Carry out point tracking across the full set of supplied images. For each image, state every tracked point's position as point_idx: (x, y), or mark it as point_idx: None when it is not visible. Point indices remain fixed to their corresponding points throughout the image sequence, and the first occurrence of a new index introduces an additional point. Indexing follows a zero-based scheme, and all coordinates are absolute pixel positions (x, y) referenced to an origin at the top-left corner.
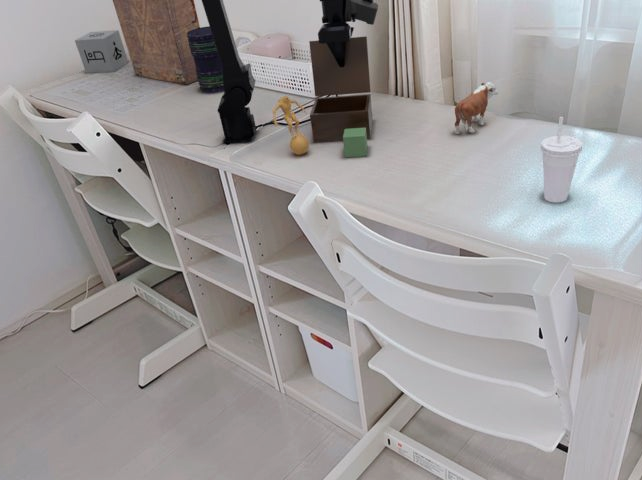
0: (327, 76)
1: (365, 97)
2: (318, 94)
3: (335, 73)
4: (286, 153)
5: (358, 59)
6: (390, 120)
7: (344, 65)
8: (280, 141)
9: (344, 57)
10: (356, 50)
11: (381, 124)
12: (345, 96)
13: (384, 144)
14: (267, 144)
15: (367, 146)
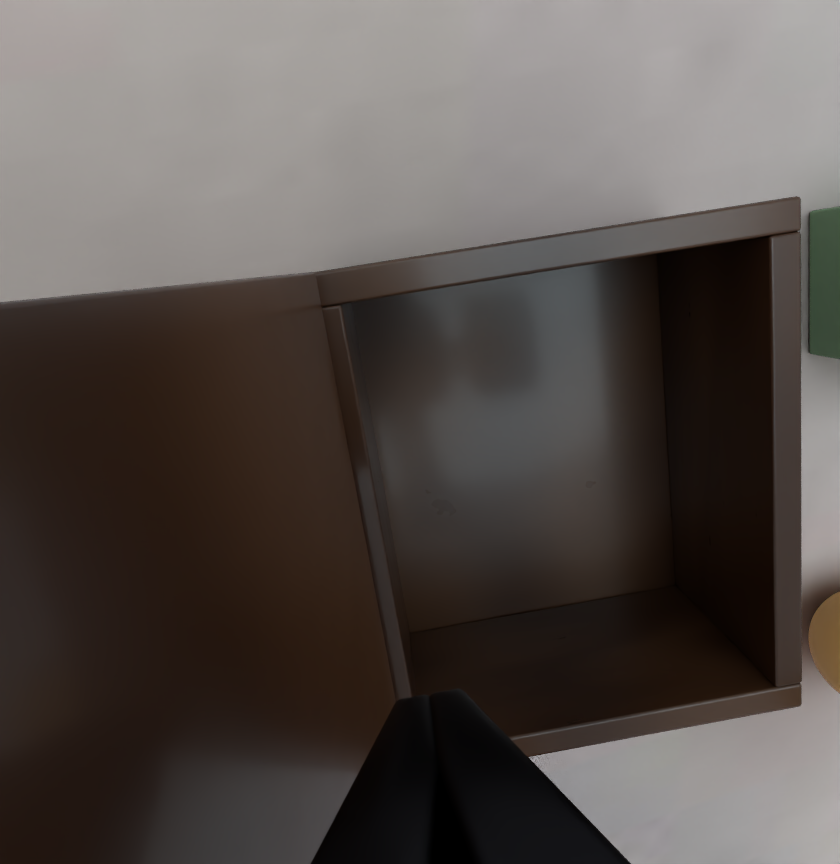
0: None
1: (346, 323)
2: None
3: (334, 764)
4: (814, 694)
5: (171, 509)
6: (306, 124)
7: (465, 697)
8: (642, 781)
9: (562, 796)
10: (58, 647)
11: (390, 187)
12: (372, 526)
13: (768, 92)
14: (676, 833)
15: (820, 209)
